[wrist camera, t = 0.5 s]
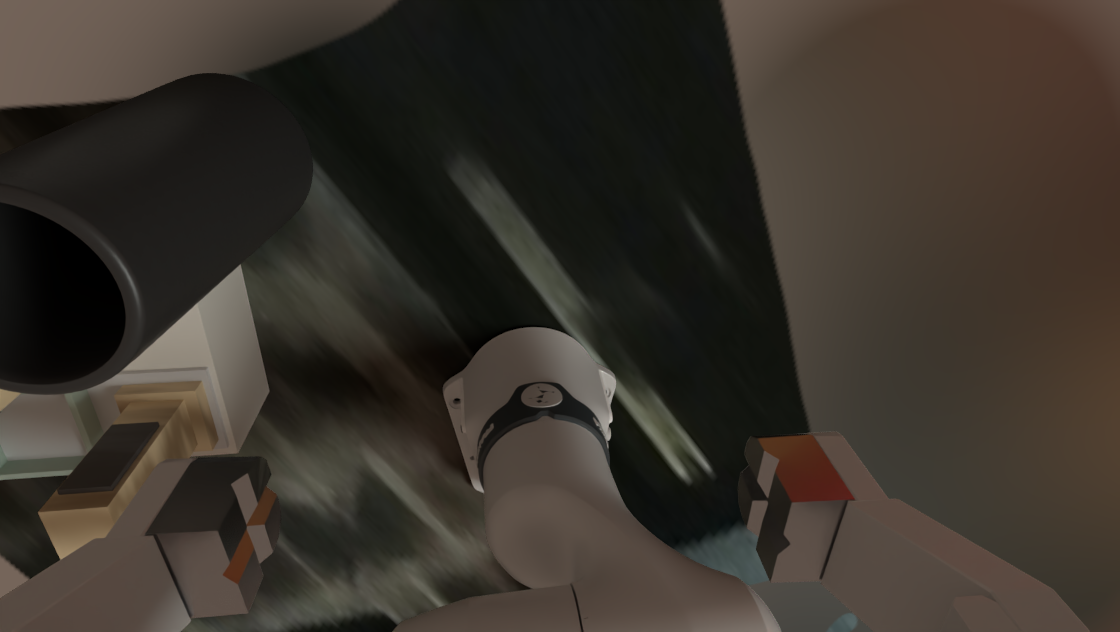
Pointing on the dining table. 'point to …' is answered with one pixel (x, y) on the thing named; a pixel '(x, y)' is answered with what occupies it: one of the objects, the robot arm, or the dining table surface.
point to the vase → (136, 223)
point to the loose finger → (128, 459)
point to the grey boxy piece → (177, 356)
